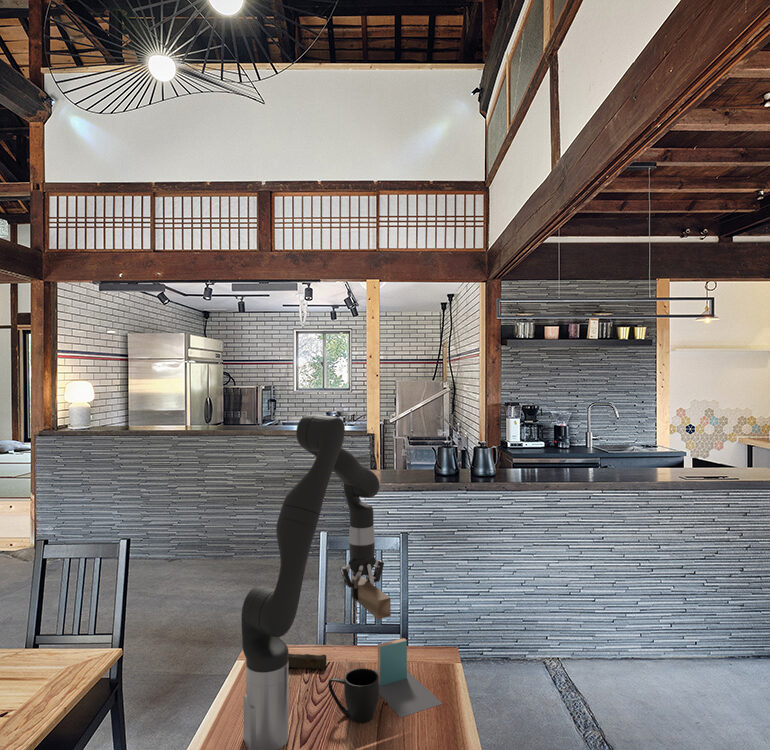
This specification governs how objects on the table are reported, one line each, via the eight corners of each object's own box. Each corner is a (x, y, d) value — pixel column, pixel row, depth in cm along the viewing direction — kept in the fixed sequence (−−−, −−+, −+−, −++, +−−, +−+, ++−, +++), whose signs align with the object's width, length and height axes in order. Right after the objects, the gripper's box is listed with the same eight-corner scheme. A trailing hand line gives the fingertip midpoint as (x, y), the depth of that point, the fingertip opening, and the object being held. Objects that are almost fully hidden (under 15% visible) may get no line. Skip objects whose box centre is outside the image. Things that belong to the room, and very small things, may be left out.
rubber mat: (400, 719, 127) (400, 717, 127) (360, 675, 146) (360, 674, 146) (442, 705, 133) (442, 703, 133) (399, 664, 152) (399, 663, 152)
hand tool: (327, 666, 152) (327, 649, 152) (324, 673, 148) (323, 656, 148) (263, 661, 155) (263, 645, 155) (258, 668, 151) (258, 652, 151)
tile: (380, 686, 140) (380, 647, 141) (377, 683, 142) (377, 644, 142) (407, 678, 144) (406, 640, 144) (404, 675, 146) (403, 638, 146)
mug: (332, 705, 133) (332, 666, 133) (380, 708, 131) (380, 668, 132) (325, 726, 124) (325, 684, 125) (376, 729, 123) (376, 687, 123)
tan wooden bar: (377, 619, 146) (377, 600, 146) (351, 596, 162) (350, 579, 162) (390, 616, 148) (390, 597, 148) (363, 593, 164) (362, 577, 164)
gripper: (344, 547, 153) (345, 608, 153) (389, 540, 160) (389, 598, 159) (334, 540, 160) (335, 598, 159) (377, 533, 166) (378, 589, 166)
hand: (362, 598), depth 159 cm, fingers closed on tan wooden bar, 4 cm apart
